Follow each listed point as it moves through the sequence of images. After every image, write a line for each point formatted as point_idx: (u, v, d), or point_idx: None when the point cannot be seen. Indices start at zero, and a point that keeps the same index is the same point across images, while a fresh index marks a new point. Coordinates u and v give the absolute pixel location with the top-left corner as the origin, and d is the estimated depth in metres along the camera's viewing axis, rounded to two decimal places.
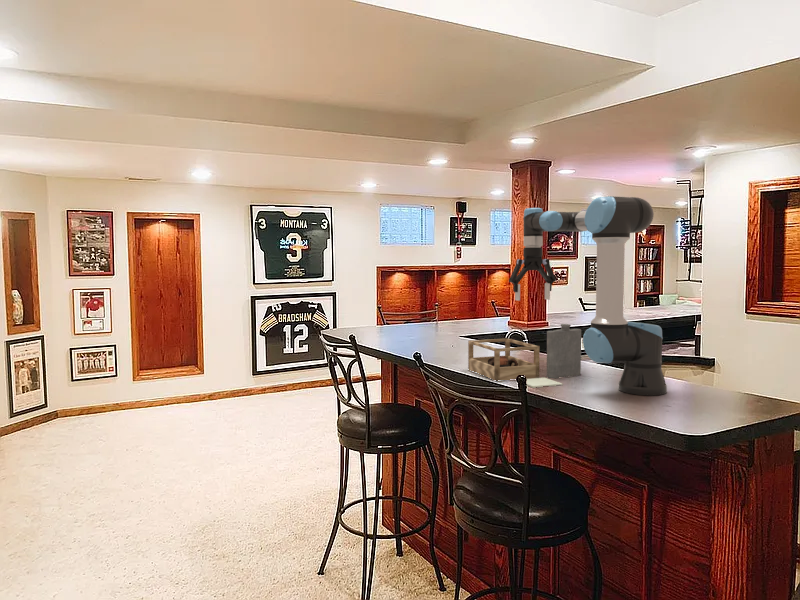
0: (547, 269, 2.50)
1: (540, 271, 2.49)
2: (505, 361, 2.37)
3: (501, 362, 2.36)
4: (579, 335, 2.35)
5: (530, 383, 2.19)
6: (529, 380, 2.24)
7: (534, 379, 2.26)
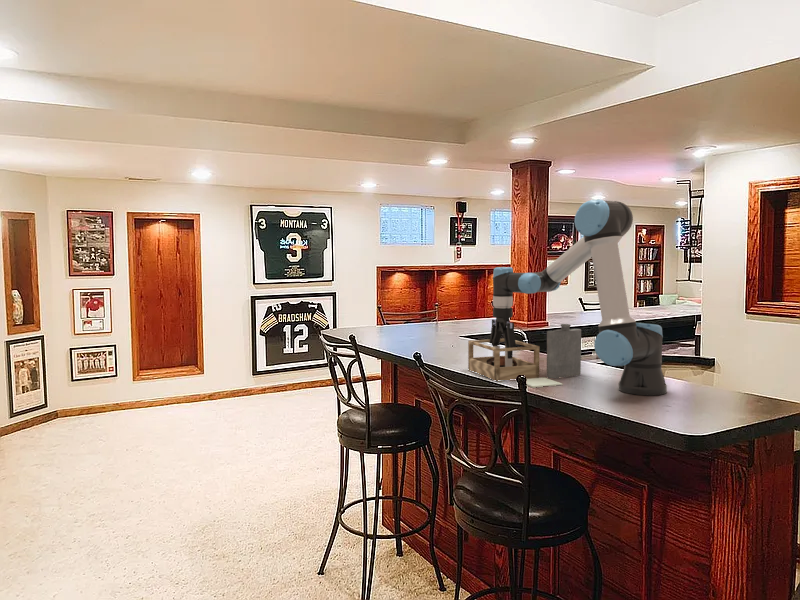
0: None
1: None
2: (504, 361, 2.36)
3: (500, 362, 2.35)
4: (579, 335, 2.35)
5: (530, 383, 2.19)
6: (529, 380, 2.24)
7: (534, 379, 2.26)
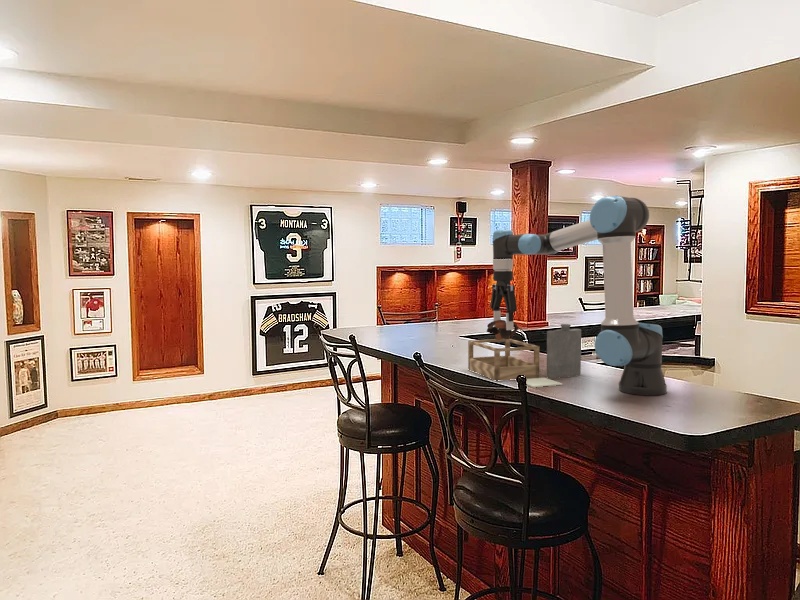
0: None
1: None
2: (505, 325, 2.35)
3: (501, 326, 2.34)
4: (579, 335, 2.35)
5: (530, 383, 2.19)
6: (529, 380, 2.24)
7: (534, 379, 2.26)
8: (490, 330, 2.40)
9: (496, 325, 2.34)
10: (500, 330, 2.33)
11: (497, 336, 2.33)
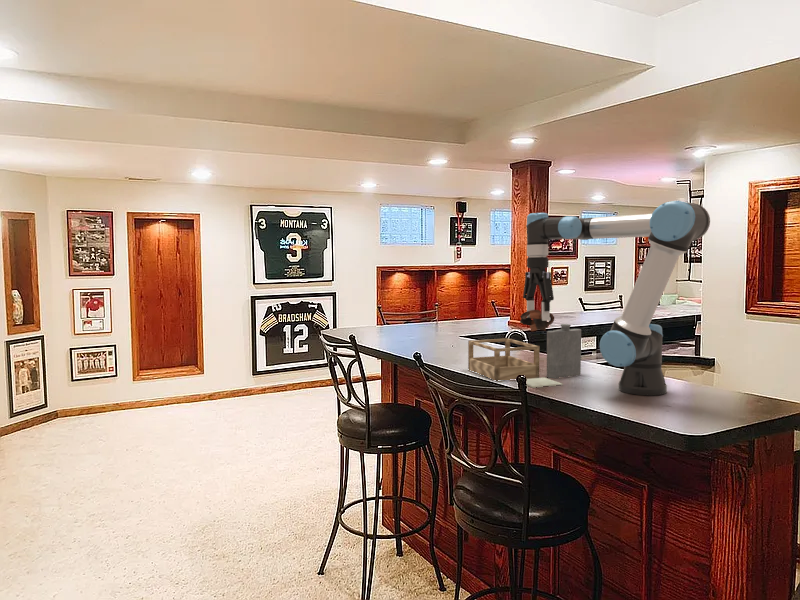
0: None
1: None
2: (540, 315, 2.18)
3: (536, 316, 2.17)
4: (579, 335, 2.35)
5: (530, 383, 2.19)
6: (529, 380, 2.24)
7: (534, 379, 2.26)
8: (523, 321, 2.23)
9: (531, 315, 2.17)
10: (535, 320, 2.16)
11: (532, 327, 2.16)
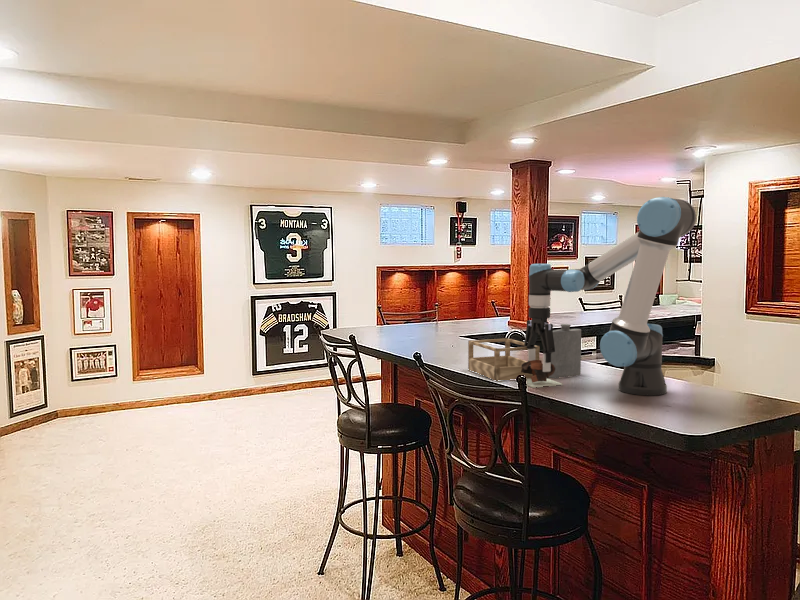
0: None
1: None
2: (541, 366, 2.18)
3: (537, 367, 2.17)
4: (579, 335, 2.35)
5: (530, 383, 2.19)
6: (529, 380, 2.24)
7: None
8: (524, 370, 2.24)
9: (532, 366, 2.18)
10: (536, 371, 2.16)
11: (533, 378, 2.16)
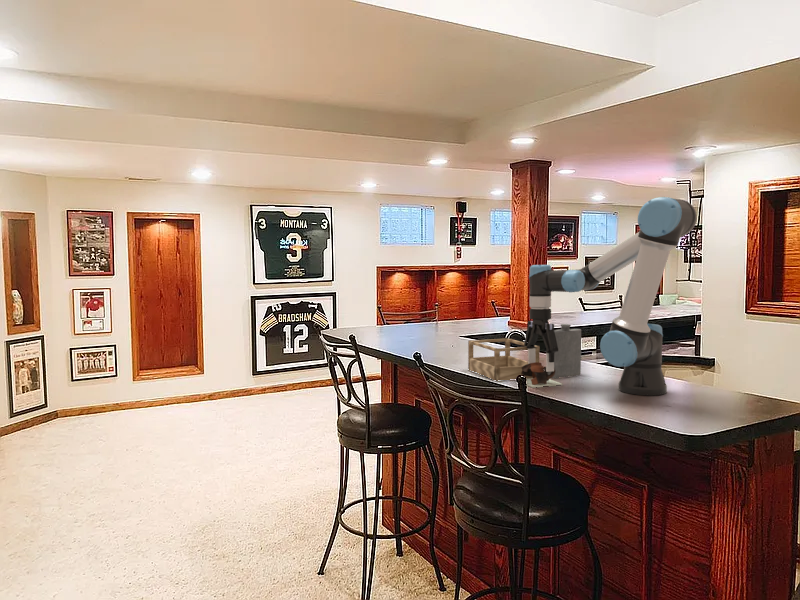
0: None
1: None
2: (542, 368, 2.18)
3: (537, 369, 2.17)
4: (579, 335, 2.35)
5: (530, 383, 2.19)
6: (529, 380, 2.24)
7: None
8: (524, 372, 2.24)
9: (532, 368, 2.18)
10: (536, 374, 2.16)
11: (533, 380, 2.16)
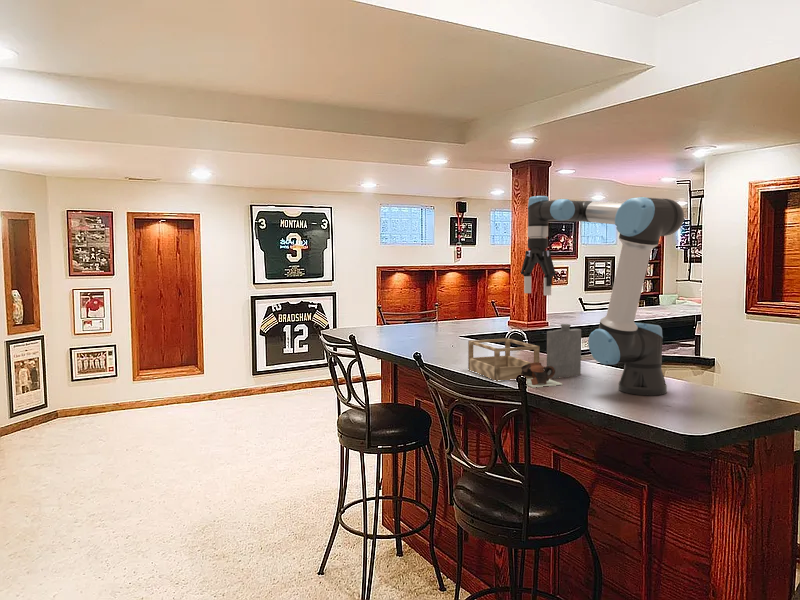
0: None
1: None
2: (541, 368, 2.18)
3: (537, 369, 2.17)
4: (579, 335, 2.35)
5: (530, 383, 2.19)
6: (529, 380, 2.24)
7: None
8: (524, 372, 2.24)
9: (532, 368, 2.18)
10: (536, 374, 2.16)
11: (533, 381, 2.16)
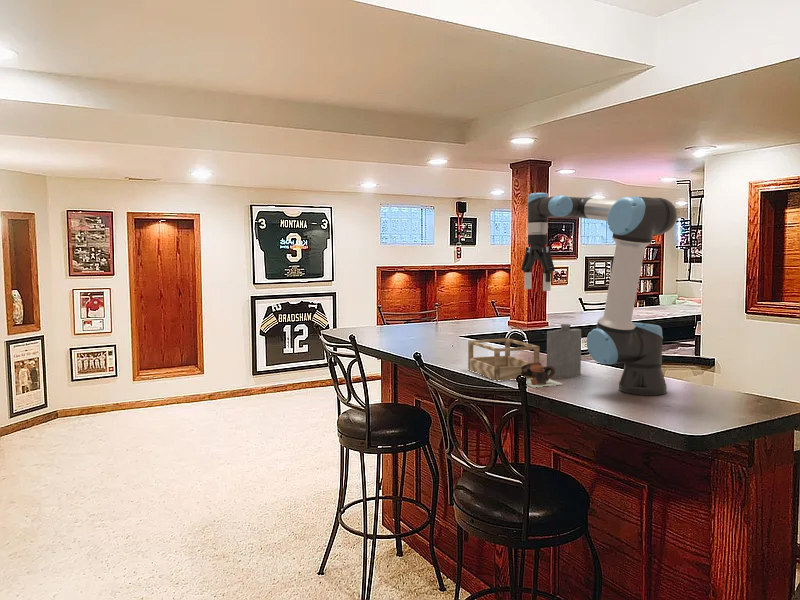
0: None
1: None
2: (541, 368, 2.18)
3: (537, 369, 2.17)
4: (579, 335, 2.35)
5: (530, 383, 2.19)
6: (529, 380, 2.24)
7: None
8: (524, 372, 2.23)
9: (532, 368, 2.18)
10: (536, 374, 2.16)
11: (533, 381, 2.16)
